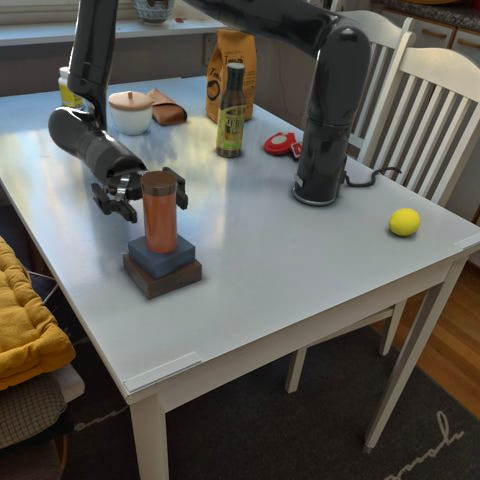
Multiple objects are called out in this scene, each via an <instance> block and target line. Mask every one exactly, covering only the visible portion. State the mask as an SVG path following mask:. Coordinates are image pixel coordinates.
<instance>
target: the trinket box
mask: <svg viewBox="0 0 480 480" xmlns="http://www.w3.org/2000/svg"><path fill="white" fill-rule="evenodd" d="M146 94H147V93H143V92H139V91H132V90H130V91H120V92H116V93H112V94H111V95H110V96H109V97H108V100H107V101H108V105H109V113H110V117H111V119H112V121H113V123H114V125H115V126H116V128H118V129H119V130H120V131H121V133H123V134H125V135H129V136H138V135H142V134H144V133H145V131H146V130H147V129H148V127H150V125H151V122H152V121H153V120H152V119H153V118H152V105H153V100H152V98H151V97H150V96H148V95H146Z"/></svg>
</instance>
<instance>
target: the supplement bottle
mask: <svg viewBox="0 0 480 480" xmlns="http://www.w3.org/2000/svg"><path fill="white" fill-rule="evenodd" d="M68 72H69V66H63V67H60V68H59V75H60V77H59V78H58V88H59V93H60V100H61V105H62V107H66V108H71V109H74V110H78V111H82V110H83V108H84V103H83V101H84V100H83V99H82V98H80V97H78V96H76V95H74V94H73V93H71V92H70V91H69V90H68V88H67V77H68Z"/></svg>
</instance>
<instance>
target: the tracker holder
mask: <svg viewBox="0 0 480 480" xmlns="http://www.w3.org/2000/svg"><path fill="white" fill-rule="evenodd" d="M301 145H302V140H298V141H297V138H296V134H295V132H289V131H279V132H277V133H275V134H274V135H272V136H270V137H269V138H267V139H266V140H265V141H264V143H263V149H264V151H265V152H266V153H267V154H270V155H282V154H285V153H288V152H290V151H291V153H292V155H293V157H294V158H295V159H296V160H299V156H300V151H301Z"/></svg>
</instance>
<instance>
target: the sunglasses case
mask: <svg viewBox="0 0 480 480" xmlns="http://www.w3.org/2000/svg"><path fill="white" fill-rule="evenodd" d="M153 88H154V89H152V90H150V91H149V92H147V93H145V94H146V95H148V96H150V97H151V98H152V100H153V105H152V119H153V120H154V121H155V122H156V123H158V124H159V125H162V126H163V125H164V126H167V125H168V126H172V125H179V124H184V123H185V122H187V120H188V118H189V117H188V112H187V111H186V109H185V108H184V107H183V106H181V105H180V104H178V103H177V102H176V101H174V100H173V99H172V98H170V97H169V96H167V95H166V94H164V93H163V92H162V91H160V90H159V89H158V88H157V87H155V86H154V87H153Z"/></svg>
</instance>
